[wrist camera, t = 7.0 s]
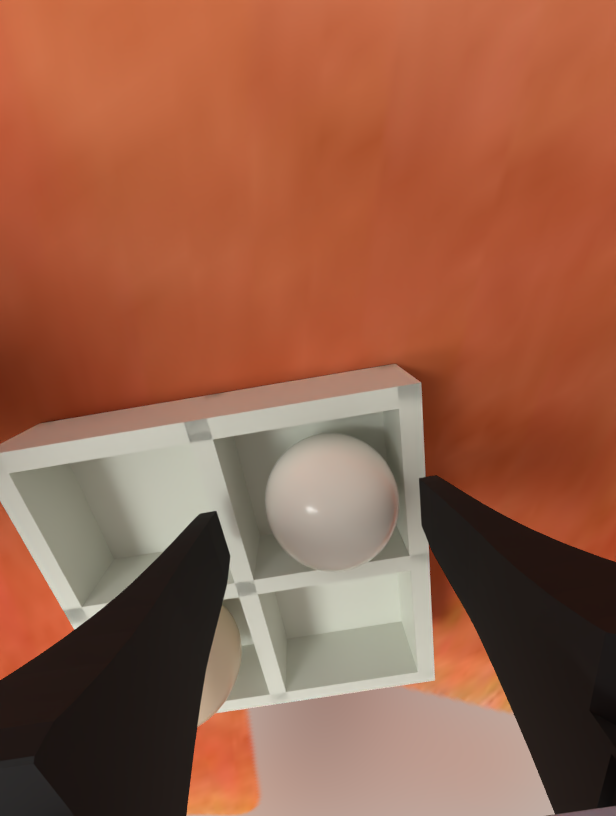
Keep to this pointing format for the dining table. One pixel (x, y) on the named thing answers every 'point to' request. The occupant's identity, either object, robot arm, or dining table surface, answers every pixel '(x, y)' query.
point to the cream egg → (332, 502)
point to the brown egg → (221, 666)
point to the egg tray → (237, 524)
